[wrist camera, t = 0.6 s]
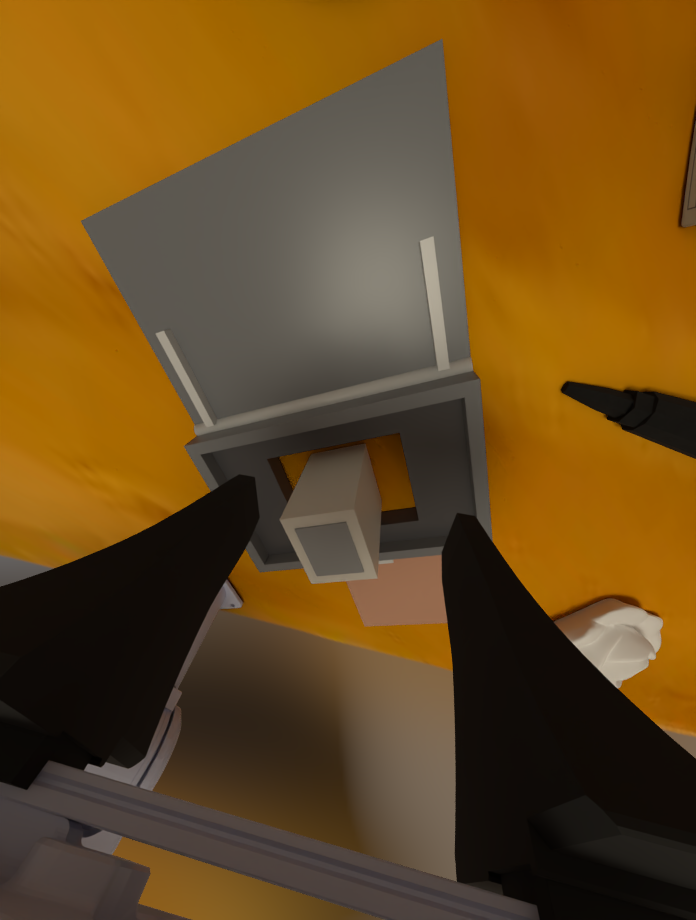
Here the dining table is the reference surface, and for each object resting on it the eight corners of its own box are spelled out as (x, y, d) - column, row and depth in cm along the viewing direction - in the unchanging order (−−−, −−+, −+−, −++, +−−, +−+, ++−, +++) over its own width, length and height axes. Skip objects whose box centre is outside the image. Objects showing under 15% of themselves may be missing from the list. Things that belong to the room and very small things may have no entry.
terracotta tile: (365, 620, 31) (364, 626, 30) (336, 550, 26) (335, 555, 26) (469, 615, 28) (470, 621, 28) (457, 537, 24) (458, 543, 23)
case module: (332, 508, 24) (311, 585, 18) (311, 453, 22) (279, 521, 15) (381, 500, 23) (377, 579, 17) (365, 443, 21) (353, 510, 14)
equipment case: (273, 555, 27) (263, 578, 25) (90, 223, 16) (44, 213, 14) (484, 532, 23) (493, 558, 21) (440, 49, 12) (450, -4, 9)
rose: (571, 640, 22) (732, 651, 20) (544, 587, 26) (678, 593, 24) (541, 704, 27) (668, 718, 25) (522, 652, 30) (632, 660, 29)
